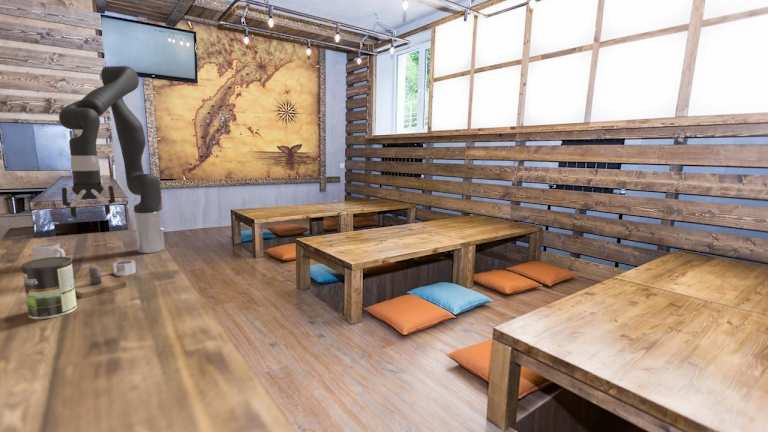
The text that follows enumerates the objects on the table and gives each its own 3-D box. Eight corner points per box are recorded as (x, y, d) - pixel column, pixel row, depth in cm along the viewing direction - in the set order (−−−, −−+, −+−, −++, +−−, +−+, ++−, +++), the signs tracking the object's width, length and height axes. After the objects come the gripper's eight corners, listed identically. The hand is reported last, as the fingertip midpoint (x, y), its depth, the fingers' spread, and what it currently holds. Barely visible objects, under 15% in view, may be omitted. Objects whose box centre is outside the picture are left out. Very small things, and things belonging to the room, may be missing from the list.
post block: (109, 279, 131) (107, 260, 130) (126, 286, 124) (124, 267, 123) (66, 289, 121) (63, 269, 120) (81, 298, 114) (79, 277, 113)
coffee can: (39, 323, 98) (31, 270, 96) (21, 314, 103) (13, 263, 100) (85, 308, 107) (79, 260, 105) (66, 301, 112) (60, 254, 109)
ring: (130, 269, 141) (129, 258, 141) (138, 272, 138) (137, 261, 137) (111, 273, 136) (110, 262, 136) (119, 276, 133) (118, 265, 132)
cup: (75, 263, 147) (72, 243, 146) (55, 269, 139) (52, 248, 138) (49, 262, 148) (46, 242, 147) (28, 268, 140) (25, 247, 139)
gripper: (110, 168, 136) (115, 213, 139) (58, 168, 128) (64, 216, 130) (112, 169, 131) (117, 216, 133) (57, 170, 122) (64, 220, 125)
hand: (91, 216), depth 132 cm, fingers open, 8 cm apart
